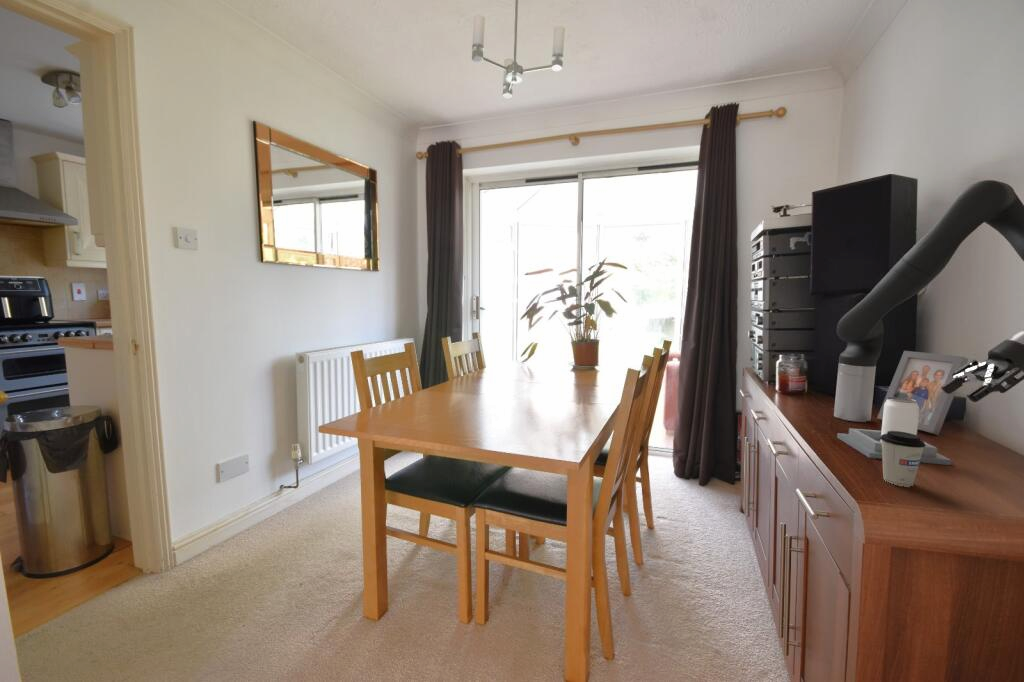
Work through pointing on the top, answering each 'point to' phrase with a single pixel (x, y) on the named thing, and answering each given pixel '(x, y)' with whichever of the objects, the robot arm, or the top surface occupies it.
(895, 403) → the can
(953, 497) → the top surface
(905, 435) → the coffee cup
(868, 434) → the can dock
